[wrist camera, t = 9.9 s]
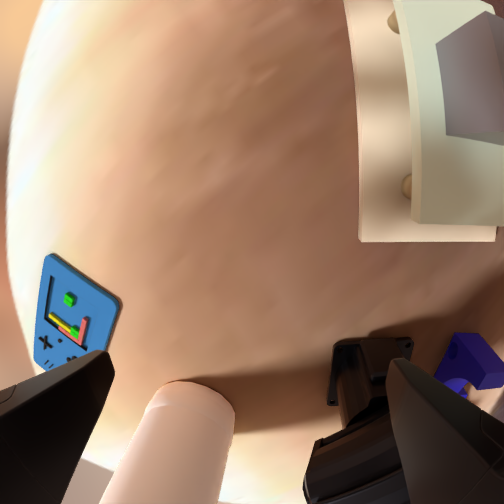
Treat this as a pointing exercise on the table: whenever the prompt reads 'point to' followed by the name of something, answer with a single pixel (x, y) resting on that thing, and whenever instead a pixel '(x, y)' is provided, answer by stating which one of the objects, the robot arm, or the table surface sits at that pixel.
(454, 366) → the cable clip
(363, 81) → the plate
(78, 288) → the handheld gaming device
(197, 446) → the bottle
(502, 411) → the table surface
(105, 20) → the table surface
